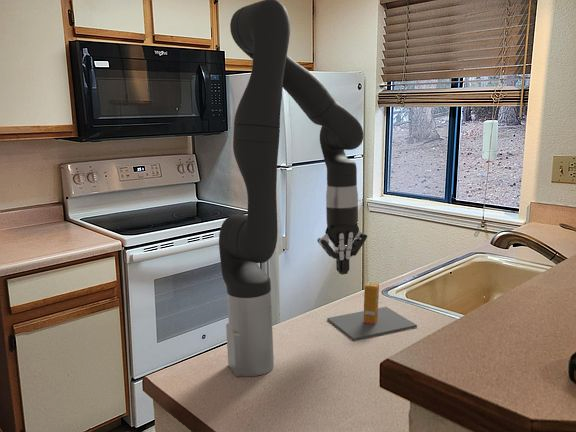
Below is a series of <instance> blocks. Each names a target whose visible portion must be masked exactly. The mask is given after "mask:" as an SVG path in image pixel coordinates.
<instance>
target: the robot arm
mask: <svg viewBox="0 0 576 432" xmlns="http://www.w3.org/2000/svg"><path fill="white" fill-rule="evenodd" d="M286 8H287V7H285V6H284V4H283V3H281V1H279V0H260V1H257V2H254V3H251V4H248V5H245V6H242V7H241V8H238V9H237V10H236V11H235V12H234V13H233V15H232V16H231V20H230V24H229V25H230V26H229V28H230V29H229V30H230V34H231V37H232V39H233V41H234V43H235V44H236V45H237V46H238V48H239V49H241V51H242V52H243V53H245V54H246V55H247V56H248V57H249V58H250V59H251V60H252V66H251V67H252V68H251V72H250V77H249V80H248V82H247V85H246V87H245V89H244V92H243V94H242V96H241V98H240V101H239V103H238V105H237V109H236V111H235V114H234V119H233V137H232V138H233V139H232V148H233V155H234V158H235V162H236V164H237V167H238V169H239V171H240V174H241V176H242V179H243V181H244V186H245V189H246V195H247V212H246V213H247V214H240V213H236V214H231V215H229V216H228V217H226V219H224V220H223V222H222V224H221V226H220V230H219V234H218V235H219V236H218V251H219V258H220V267H221V269H220V270H221V277H222V279H223V281H224V284H225V285H226V296H227V297H226V298H227V316H228V323H226V324H225V326H226V327H225V329H226V346H227V347H226V348H227V363H228V364H227V365H228V367H229V369H230V370H231V371H232V373H233V374H234V376H235V377H242V376H243V377H257V376H262V375H265V374H267V373H269V372H270V371H272V370H273V368H274V366H275V365H274V364H275V363H274V360H275V357H274V356H275V355H274V340H273V339H274V335H273V334H274V332H273V313H272V312H273V311H272V309H273V307H272V284H271V278H270V276H269V274H267V273H266V272H265V271H264V270H263V269H262V268H261V267H260V266H259V264H264V263H266V262H268V261H269V260H270V259H271V258H272V256H273V255H274V254H275V252H276V251H275V250H276V248H277V243H278V231H279V230H278V229H279V228H278V209H277V208H278V206H277V182H278V181H277V180H278V157H279V156H278V155H279V147H280V132H281V129H280V128H281V109H282V107H281V106H282V97H283V89H284V91H286V92H287V94H288V95H290V98H292V99H293V100H294V102H295V103H296V104H297V106H298V107H299V108H300V110H302V112H303V113H304V114H305V115H306V117H307V118H308V119H309V120H310V121H311V123H313V124H314V125H318V126H321V127H320V130H319V144H320V147H321V148H320V149H321V152H322V156H323V160H324V163H325V166H326V193H325V194H326V196H325V197H326V198H325V201H326V204H325V206H326V208H325V209H326V212H325V213H326V230H325V232H324V233H325V234H324V235H323V236H322V237H318V238H317V243H318V244H319V246H321V248H322V249H323V250H324V251H325V253H326V254H327V255H328V256H329V257H331V258H333V259H335V263H336V271H337V273H338V274H340V275H347V274H348V272H349V271H350V259H351V258H352V257H355V256H357V254H358V253H359V252H360V250H361V249H362V246H363V244H364V243H365V241H366V240H367V238H368V235H367V234H365V233H363V232H361V231H360V227H359V225H358V222H359V193H358V192H359V191H358V185H357V184H358V183H357V182H358V179H357V177H358V176H357V175H358V174H357V172H358V169H357V163H356V162H355V161H354V160H352V159H350V158H348V157H347V156H346V152H345V150H346V151H349V150H355V149H357V148H359V147H360V146H361V145H362V143H363V140H364V129H363V126H362V124H361V123H360V121H359V120H358V118H357V117H356V116H354V115H353V114H352V113H351V112H350V111H348V110H347V109H346V108H345V107H344V106H342V105H341V104H340V103H339V102H337V100H335V98H334V97H333V95H332V94H331V93H330V91H329V90H328V89H327V87H326V85H324V83H323V81H321V80H320V79H319V78H318V77H317V76H316V75H314V74H313V73H312V72H311V71H310V70H308V69H307V68H305V67H304V66H303V65H301V64H299V63H298V62H297V61H295V60H294V59H292V57H290V56H289V55H288V50H289V44H290V37H291V36H290V35H291V24H290V23H291V22H290V16H289V13H288V10H287V9H286ZM330 242H331V243H332V245H333V246H331V245H330Z"/></svg>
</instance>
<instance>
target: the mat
mask: <svg viewBox="0 0 576 432" xmlns="http://www.w3.org/2000/svg"><path fill="white" fill-rule="evenodd" d="M327 322H329V323H331V325H333V326H334V327H335V328H336V329H338V330H339V331H340V332H341V333H343V334H344V335H346V336H347V337H348V338H349V339H351V340H352V341H359V340H362V339H368V338H373V337H376V336H382V335H388V334H391V333H396V332H401V331H406V330H410V329H411V330H412V329H415V328H418V325H417V324H416V323H414V322H413V321H412V320H409V319H408V318H406V317H404V316H403V315H401V314H399V313H398V312H396V311H394V310H392V309H391V308H389V307H388V306H383V307H378V320H377V322H376V324H368V323H364V310H362V311H357V312H352V313H351V312H350V313H346V314H342V315H336V316H329V317H327Z"/></svg>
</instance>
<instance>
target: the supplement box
mask: <svg viewBox="0 0 576 432" xmlns="http://www.w3.org/2000/svg"><path fill="white" fill-rule="evenodd" d="M379 291H380V284H379V283H377V282H371V281H367V282H366V284H365V285H364V293H363V296H364V297H363V311H364V323H368V324H376V322H377V320H378V308H379V293H380V292H379Z"/></svg>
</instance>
